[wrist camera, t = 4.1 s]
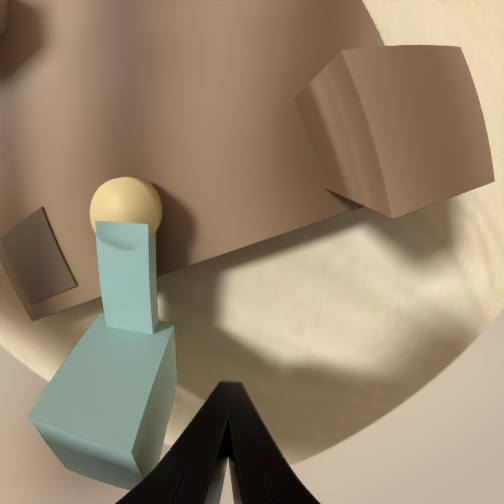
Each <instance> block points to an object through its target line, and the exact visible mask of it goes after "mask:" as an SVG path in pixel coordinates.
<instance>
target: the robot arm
mask: <svg viewBox="0 0 504 504" xmlns="http://www.w3.org/2000/svg"><path fill="white" fill-rule="evenodd" d="M228 458H229V467H230V475H231V483H232V491H233V499H234V504H320V503H319V502H318V501H317V500H316V498H315V497H314V496H313V495H312V494H311V493H310V492H309V491H308V490H307V489H306V487H305V486H304V485H303V484H302V482H301V481H300V480H299V479H298V477H297V476H296V475H295V473H294V472H293V470H292V469H291V467H290V466H289V464H288V463H287V461H286V459H285V458H284V457H283V455H282V453H281V451H280V450H279V448H278V446H277V445H276V443H275V441H274V439H273V438H272V436H271V434H270V433H269V431H268V429H267V427H266V426H265V424H264V422H263V420H262V419H261V417H260V415H259V413H258V411H257V410H256V408H255V406H254V404H253V402H252V400H251V399H250V397H249V395H248V393H247V391H246V389H245V387H244V386H243V384H242V383H241V382H234V381H220V382H219V383H218V385H217V386H216V387H215V389H214V390H213V392H212V393H211V395H210V396H209V397H208V399H207V400H206V401H205V403H204V404H203V406H202V407H201V408H200V410H199V411H198V413H197V414H196V415H195V417H194V418H193V419H192V421H191V422H190V423H189V425H188V426H187V427H186V429H185V430H184V431H183V433H182V434H181V435H180V437H179V438H178V439H177V441H176V442H175V443H174V445H173V446H172V447H171V449H170V451H168V452H167V454H166V455H165V456H164V457H163V459H162V460H161V461H160V462H159V463H158V465H157V466H156V467H155V468H154V469H153V470H152V471H151V472H150V473H149V474H148V475H147V476H146V477H145V478H144V479H143V480H142V481H141V482H140V483H139V484H138V485H136V486H135V487H134V488H133V489H132V490H131V491H130V492H129V493H127V494H126V495H125V496H124V497H123V498H122V499H120V500H119V501H118V502H117V503H115V504H219V503H220V497H221V493H222V488H223V482H224V477H225V472H226V467H227V461H228Z"/></svg>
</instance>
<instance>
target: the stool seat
mask: <svg viewBox="0 0 504 504" xmlns="http://www.w3.org/2000/svg"><path fill="white" fill-rule="evenodd" d="M125 176H136V177H140V178H142V179H144V180H146V181H148V182H149V183H150V184H151V185H152V186H153V187H154V188H155V189H156V191H157V193H158V194H159V197H160V199H161V203H162V219H161V223H160V226H159V228H158V229H157V231H156V277H158V276H161V275H164V274H167V273H170V272H173V271H175V270H178V269H181V268H184V267H187V266H190V265H193V264H196V263H198V262H201V261H204V260H207V259H210V258H213V257H216V256H219V255H222V254H225V253H228V252H230V251H233V250H236V249H239V248H242V247H245V246H248V245H251V244H254V243H257V242H260V241H263V240H266V239H269V238H272V237H274V236H277V235H280V234H283V233H286V232H289V231H292V230H295V229H298V228H301V227H304V226H307V225H310V224H313V223H316V222H319V221H322V220H325V219H328V218H331V217H334V216H337V215H340V214H343V213H346V212H349V211H352V210H355V209H358V208H361V207H364V206H366V207H368V208H370V209H372V210H374V211H377V212H379V213H381V214H383V215H385V216H387V217H389V218H391V219H394V218H396V217H399V216H402V215H405V214H407V213H410V212H413V211H416V210H419V209H421V208H424V207H427V206H430V205H432V204H435V203H438V202H441V201H443V200H446V199H449V198H451V197H454V196H457V195H460V194H462V193H465V192H468V191H470V190H473V189H476V188H478V187H481V186H484V185H486V184H489V183H492V182H494V181H495V180H494V172H493V164H492V158H491V151H490V146H489V140H488V135H487V131H486V126H485V122H484V118H483V114H482V110H481V106H480V102H479V99H478V95H477V92H476V89H475V86H474V83H473V80H472V77H471V74H470V71H469V68H468V65H467V63H466V60H465V58H464V55H463V53H462V50H461V48H460V47H454V46H436V45H400V46H385V45H384V43H383V41H382V39H381V37H380V35H379V33H378V30H377V28H376V26H375V24H374V22H373V20H372V19H371V17H370V15H369V13H368V11H367V9H366V7H365V5H364V4H363V2H362V0H0V258H1V261H2V263H3V265H4V268H5V270H6V272H7V274H8V276H9V278H10V281H11V283H12V285H13V287H14V289H15V291H16V293H17V295H18V296H19V298H20V300H21V302H22V304H23V306H24V308H25V309H26V311H27V313H28V315H29V316H30V318H31V320H32V321H34V320H37V319H40V318H42V317H45V316H48V315H51V314H54V313H56V312H59V311H62V310H65V309H68V308H70V307H73V306H76V305H79V304H82V303H84V302H87V301H90V300H93V299H96V298H98V297H101V296H102V295H101V288H100V279H99V270H98V259H97V246H96V234H95V232H94V230H93V228H92V224H91V220H90V205H91V201H92V198H93V196H94V194H95V192H96V191H97V190H98V188H99V187H100V186H101V185H103V184H104V183H105V182H107V181H109V180H112V179H116V178H120V177H125Z"/></svg>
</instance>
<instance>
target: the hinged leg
mask: <svg viewBox="0 0 504 504" xmlns="http://www.w3.org/2000/svg"><path fill="white" fill-rule="evenodd" d="M161 219H162V203H161V199H160V197H159V194H158V193H157V191H156V189H155V188H154V187H153V186H152V185H151V184H150V183H149V182H148V181H146V180H144V179H142V178H140V177H136V176H125V177H120V178H116V179H112V180H109V181H107V182H105V183H104V184H103V185H101V186H100V187H99V188H98V190H97V191H96V192H95V194H94V196H93V198H92V201H91V205H90V220H91V224H92V228H93V230H94V232H95V234H96V246H97V259H98V270H99V279H100V288H101V295H102V302H103V309H104V313H100V314H99V316H98V317H97V318H96V319H95V321H94V322H93V323H92V325H91V326H90V327H89V328H88V330H87V331H86V332H85V334H84V335H83V336H82V338H81V339H80V340H79V342H78V343H77V344H76V346H75V347H74V348H73V350H72V351H71V352H70V354H69V355H68V357H67V358H66V359H65V361H64V362H63V364H62V365H61V366H60V368H59V369H58V371H57V372H56V374H55V375H54V377H53V378H52V379H51V381H50V382H49V384H48V385H47V387H46V388H45V390H44V391H43V393H42V395H41V396H40V398H39V399H38V401H37V402H36V404H35V405H34V407H33V408H32V410H31V412H30V413H29V415H28V416H29V418H30V419H31V421H32V422H33V424H34V426H35V427H36V428H37V430H38V431H39V433H40V434H41V436H42V437H43V439H44V440H45V442H46V443H47V444H48V446H49V447H50V448H51V450H52V451H53V452H54V454H55V455H56V456H57V457H58V459H59V460H60V461H61V462H62V464H63V465H64V466H65V467H66V468H67V469H69V470H71V471H74V472H76V473H79V474H81V475H84V476H87V477H89V478H92V479H95V480H98V481H101V482H104V483H107V484H110V485H113V486H117V487H120V488H124V489H127V490H132V489H133V488H134V487H135V486H136V485H138V484H139V483H140V482H141V481H142V480H143V479H144V478H145V477H146V476H147V475H148V474H149V473H150V472H151V471H152V470H153V469H154V468H155V467H156V466H157V465H158V463H159V459H160V455H161V451H162V446H163V442H164V437H165V433H166V428H167V424H168V420H169V415H170V411H171V407H172V403H173V399H174V395H175V391H176V387H177V383H178V378H177V364H176V347H175V326H174V324H171V323H163V322H159V320H158V303H157V279H156V231H157V229H158V228H159V226H160V223H161Z"/></svg>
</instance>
